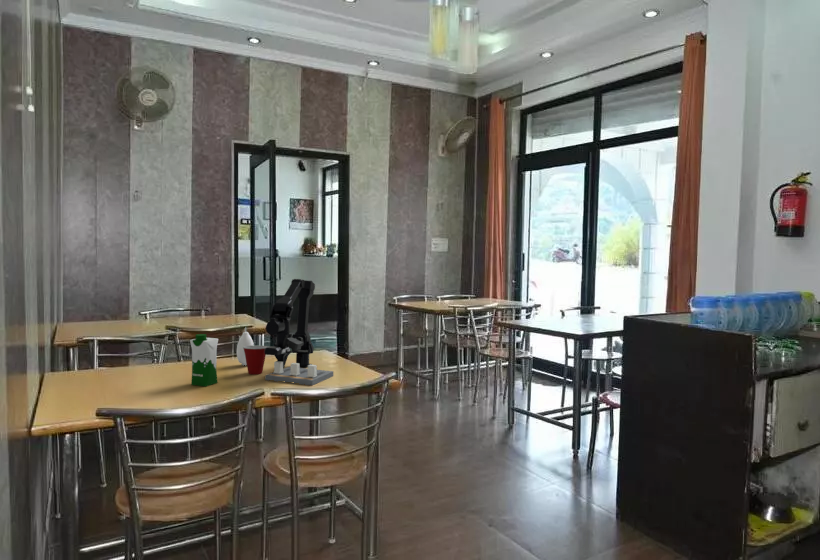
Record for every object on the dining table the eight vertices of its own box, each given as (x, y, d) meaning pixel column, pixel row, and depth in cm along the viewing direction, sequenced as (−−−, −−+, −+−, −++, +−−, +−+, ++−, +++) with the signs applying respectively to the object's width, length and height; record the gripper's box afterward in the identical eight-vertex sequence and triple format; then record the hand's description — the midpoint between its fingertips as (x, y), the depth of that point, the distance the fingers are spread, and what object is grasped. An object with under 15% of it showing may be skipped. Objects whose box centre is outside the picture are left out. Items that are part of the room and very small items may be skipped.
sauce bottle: (233, 366, 257) (233, 327, 256) (244, 363, 264) (244, 324, 263) (247, 368, 254) (247, 328, 253) (258, 364, 261) (258, 326, 260)
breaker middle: (293, 373, 235) (293, 362, 235) (300, 374, 234) (300, 363, 234) (289, 374, 232) (290, 363, 232) (296, 375, 231) (296, 364, 231)
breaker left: (310, 375, 232) (310, 364, 232) (317, 376, 231) (317, 364, 231) (307, 376, 229) (307, 365, 229) (313, 377, 228) (313, 366, 228)
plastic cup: (271, 370, 249) (272, 344, 248) (263, 376, 238) (263, 348, 238) (248, 369, 250) (248, 343, 249) (238, 375, 239) (238, 347, 239)
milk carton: (187, 385, 221) (187, 334, 220) (203, 380, 230) (203, 331, 229) (206, 387, 218) (206, 336, 217) (221, 382, 227) (221, 333, 226)
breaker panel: (288, 371, 249) (288, 366, 249) (333, 375, 242) (333, 371, 242) (265, 380, 232) (265, 375, 232) (312, 385, 225) (312, 380, 225)
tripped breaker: (277, 371, 238) (277, 360, 238) (283, 372, 237) (283, 361, 237) (273, 373, 235) (273, 362, 235) (279, 373, 234) (279, 362, 234)
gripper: (287, 336, 226) (287, 374, 227) (310, 329, 244) (310, 365, 245) (263, 334, 230) (263, 371, 231) (288, 328, 247) (288, 363, 248)
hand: (282, 368), depth 239 cm, fingers closed
